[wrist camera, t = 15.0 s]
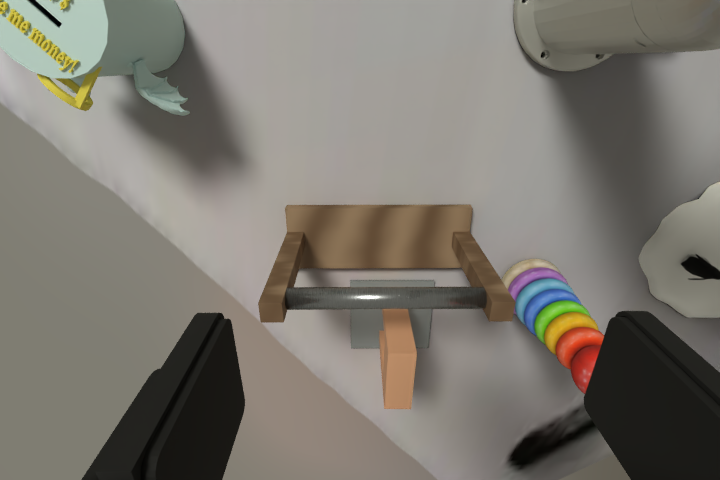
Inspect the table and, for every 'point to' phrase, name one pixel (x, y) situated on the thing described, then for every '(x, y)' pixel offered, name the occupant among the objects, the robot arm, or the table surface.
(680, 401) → the robot arm
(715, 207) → the figurine
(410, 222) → the rack
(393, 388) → the tall peach block
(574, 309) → the stacking toy
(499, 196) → the table surface
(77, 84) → the character sculpture
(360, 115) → the table surface
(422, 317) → the mat
